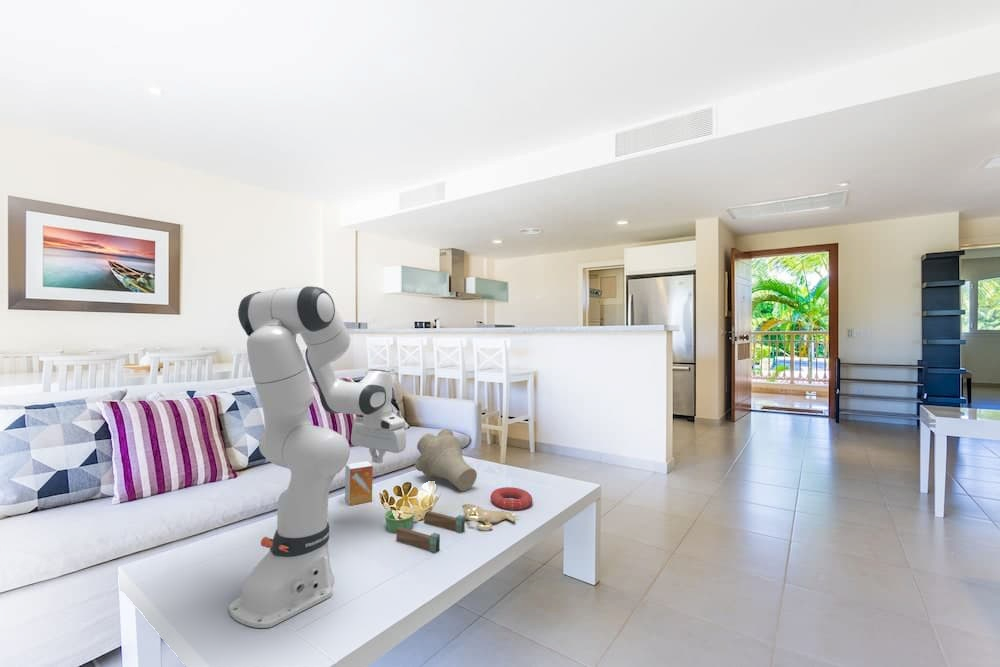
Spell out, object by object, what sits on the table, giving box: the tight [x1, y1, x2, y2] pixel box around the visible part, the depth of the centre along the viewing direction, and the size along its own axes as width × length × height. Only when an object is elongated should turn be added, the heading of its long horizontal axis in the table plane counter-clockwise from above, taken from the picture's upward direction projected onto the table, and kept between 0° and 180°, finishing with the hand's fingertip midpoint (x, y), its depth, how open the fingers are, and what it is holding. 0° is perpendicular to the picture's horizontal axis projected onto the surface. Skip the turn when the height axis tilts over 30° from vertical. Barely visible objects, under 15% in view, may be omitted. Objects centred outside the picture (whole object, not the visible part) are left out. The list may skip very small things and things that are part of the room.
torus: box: [490, 486, 533, 511], centre depth 161 cm, size 16×14×4 cm
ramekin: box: [384, 509, 415, 534], centre depth 140 cm, size 9×9×4 cm
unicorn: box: [461, 503, 520, 531], centre depth 147 cm, size 20×4×17 cm
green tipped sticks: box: [396, 510, 466, 554], centre depth 134 cm, size 16×14×4 cm
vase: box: [414, 428, 478, 492], centre depth 177 cm, size 23×23×30 cm
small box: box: [344, 460, 374, 506], centre depth 160 cm, size 8×6×13 cm
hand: (377, 462), depth 144 cm, fingers closed
